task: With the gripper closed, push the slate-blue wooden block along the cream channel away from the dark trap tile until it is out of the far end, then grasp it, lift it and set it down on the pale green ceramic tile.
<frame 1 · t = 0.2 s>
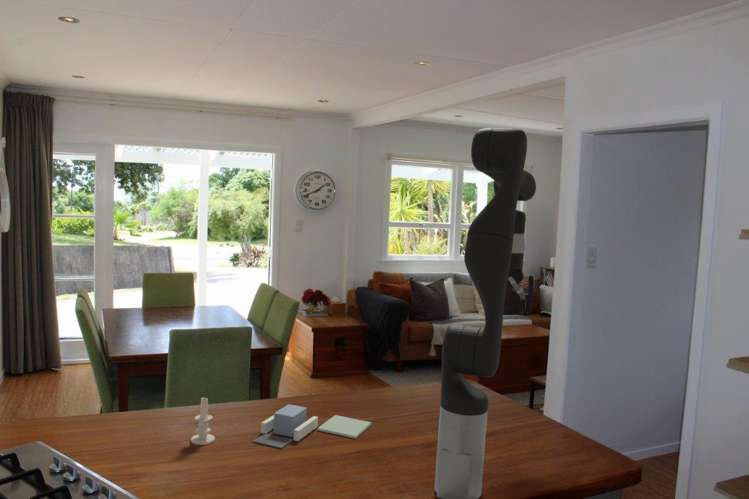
hand: (504, 311, 160), 29 cm above the kitchen counter, fingers open, 8 cm apart
white ringed tapered column: (202, 441, 138), on the kitchen counter
tile: (344, 427, 150), on the kitchen counter
block: (289, 430, 147), on the kitchen counter
channel: (289, 429, 147), on the kitchen counter
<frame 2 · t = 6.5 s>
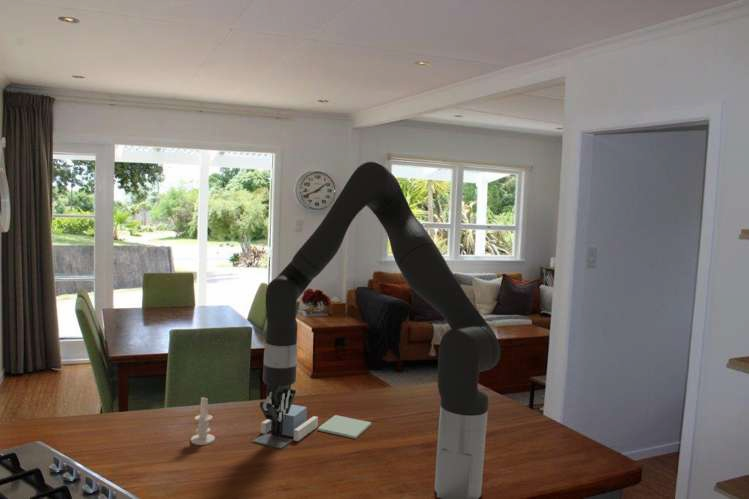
hand: (276, 434, 141), 1 cm above the kitchen counter, fingers closed
block: (290, 430, 147), on the kitchen counter, touching gripper
everything else where it was.
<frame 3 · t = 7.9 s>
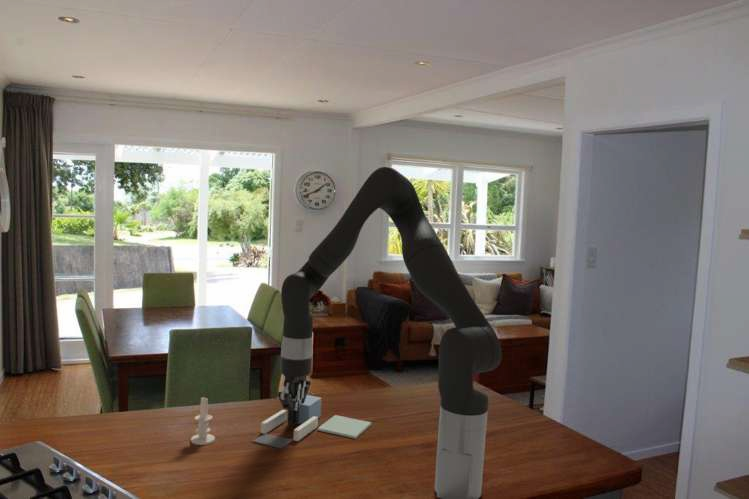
hand: (292, 423, 149), 1 cm above the kitchen counter, fingers closed
block: (305, 419, 154), on the kitchen counter, touching gripper
everything else where it was.
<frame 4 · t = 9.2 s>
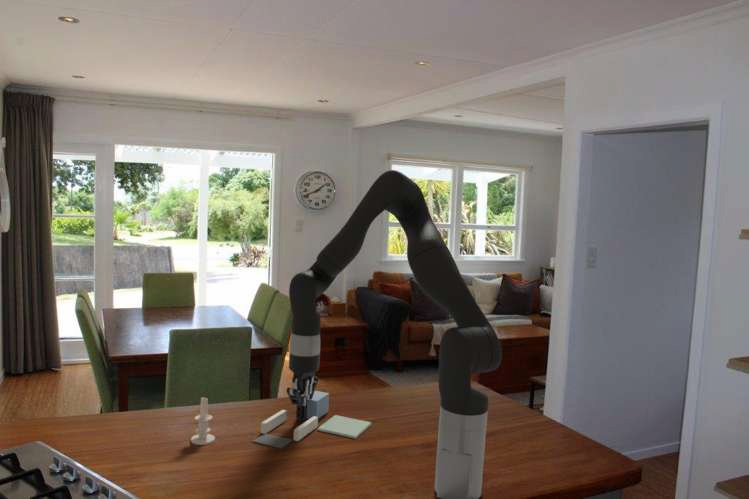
hand: (301, 418, 152), 1 cm above the kitchen counter, fingers closed
block: (313, 414, 158), on the kitchen counter, touching gripper
everything else where it was.
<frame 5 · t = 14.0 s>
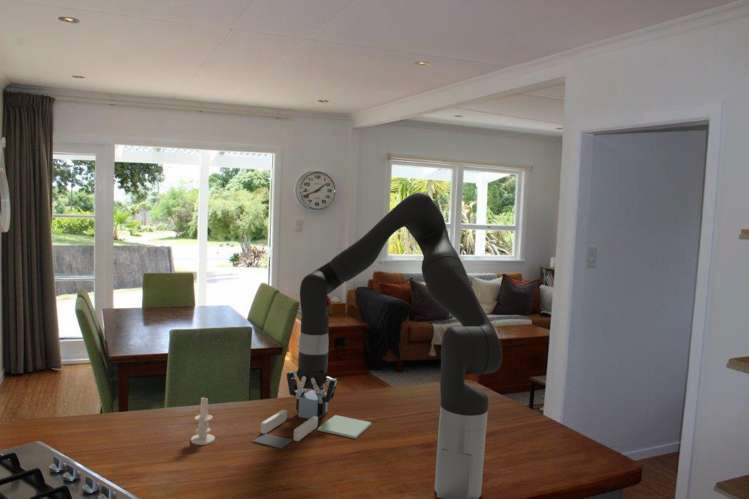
hand: (310, 414, 157), 1 cm above the kitchen counter, fingers closed on block, 5 cm apart
block: (313, 414, 158), on the kitchen counter, touching gripper
everything else where it was.
when the fingers open (2 cm above the kitchen counter, at t = 19.2 s): block drops 1 cm, resting on tile.
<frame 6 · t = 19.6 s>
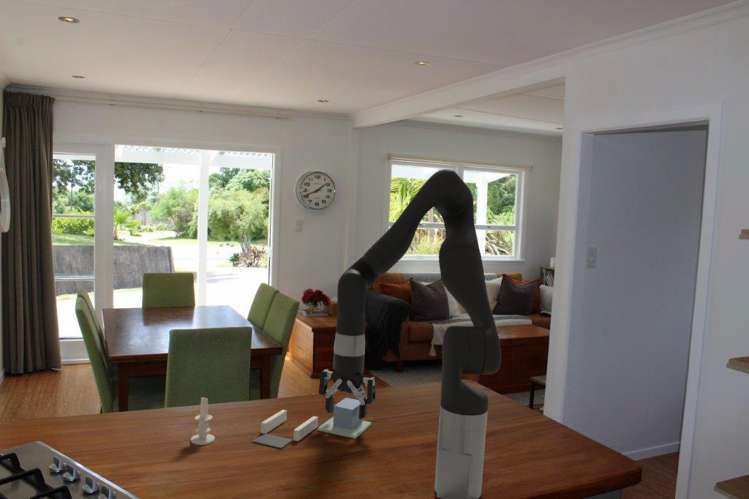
hand: (345, 415, 150), 3 cm above the kitchen counter, fingers open, 8 cm apart
block: (348, 423, 152), point 1 cm above the kitchen counter, touching tile
everything else where it was.
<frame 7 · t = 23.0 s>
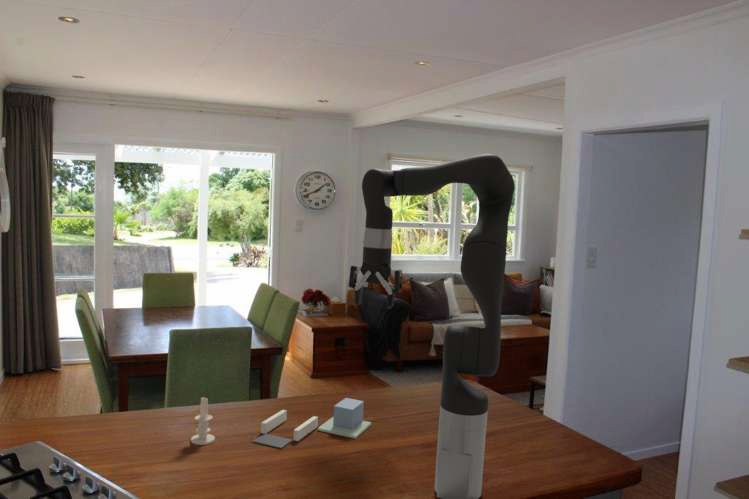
hand: (373, 306, 162), 28 cm above the kitchen counter, fingers open, 8 cm apart
nothing on the kitchen counter moved.
at the end: block inside the target area on the tile (1.6 cm from its centre), point 0.6 cm above the tile's base; block tilted 0°; the gripper is holding nothing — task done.
